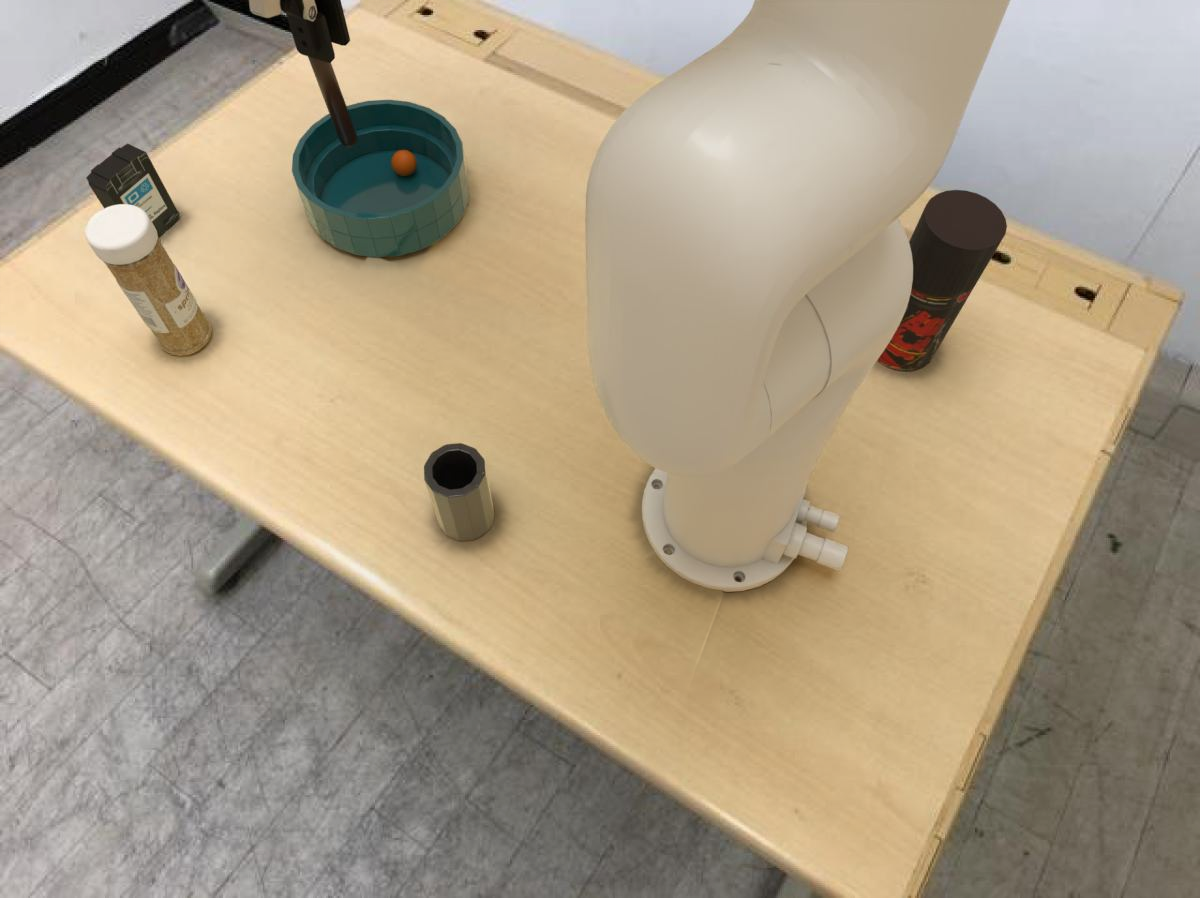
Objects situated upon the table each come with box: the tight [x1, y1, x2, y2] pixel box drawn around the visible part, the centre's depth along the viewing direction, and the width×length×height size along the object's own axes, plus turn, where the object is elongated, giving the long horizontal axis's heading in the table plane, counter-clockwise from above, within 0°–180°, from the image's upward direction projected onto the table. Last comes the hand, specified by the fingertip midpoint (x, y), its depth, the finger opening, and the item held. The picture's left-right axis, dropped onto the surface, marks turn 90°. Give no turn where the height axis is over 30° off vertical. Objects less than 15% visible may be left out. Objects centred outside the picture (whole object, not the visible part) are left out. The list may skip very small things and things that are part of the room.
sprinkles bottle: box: [84, 204, 213, 357], centre depth 70 cm, size 5×5×14 cm
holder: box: [423, 442, 495, 542], centre depth 64 cm, size 4×4×8 cm
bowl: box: [291, 99, 470, 258], centre depth 82 cm, size 15×15×6 cm
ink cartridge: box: [85, 143, 181, 239], centre depth 78 cm, size 5×2×8 cm, turn 150°
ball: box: [391, 150, 417, 176], centre depth 84 cm, size 2×2×2 cm
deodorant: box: [877, 189, 1008, 372], centre depth 71 cm, size 6×6×15 cm
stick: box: [307, 56, 357, 147], centre depth 73 cm, size 2×2×16 cm
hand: (324, 46), depth 71 cm, fingers closed on stick, 1 cm apart
